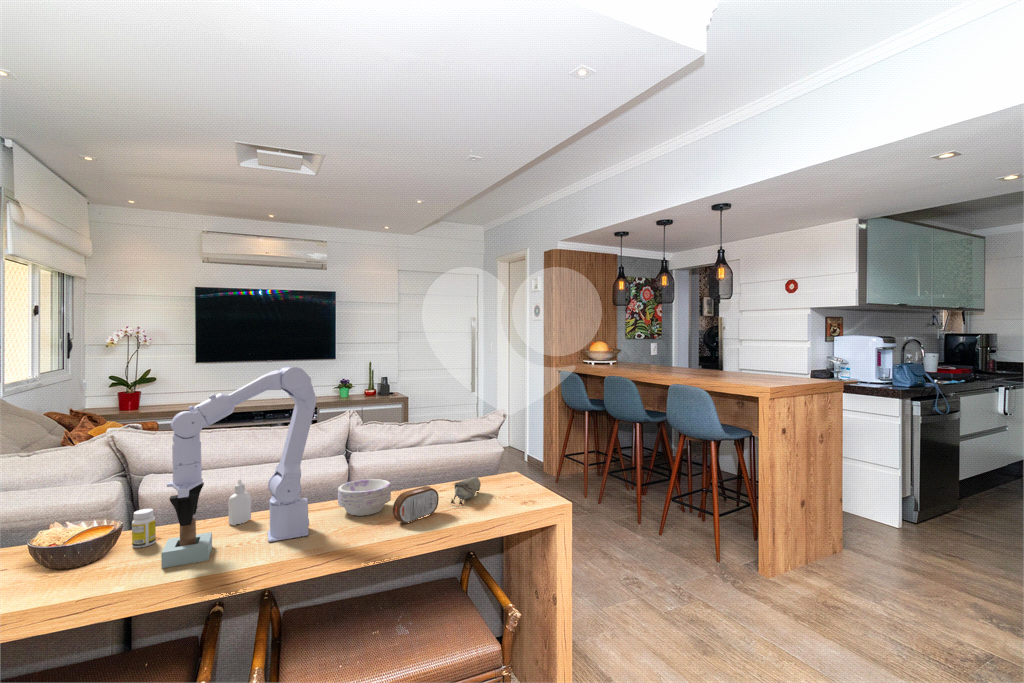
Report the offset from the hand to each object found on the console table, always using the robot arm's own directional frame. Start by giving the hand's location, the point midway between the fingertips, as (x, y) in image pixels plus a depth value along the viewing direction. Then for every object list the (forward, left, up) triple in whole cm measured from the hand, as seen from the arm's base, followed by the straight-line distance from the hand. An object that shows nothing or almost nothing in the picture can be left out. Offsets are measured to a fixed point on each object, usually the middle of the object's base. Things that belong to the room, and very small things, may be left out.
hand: (188, 519), depth 117 cm
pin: (0, 0, -8) cm, 8 cm away
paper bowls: (-43, -13, -9) cm, 46 cm away
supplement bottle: (+11, -14, -9) cm, 20 cm away
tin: (-55, +1, -9) cm, 56 cm away
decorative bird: (-74, -9, -9) cm, 75 cm away
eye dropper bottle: (-10, -20, -9) cm, 24 cm away
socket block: (0, 0, -9) cm, 9 cm away
